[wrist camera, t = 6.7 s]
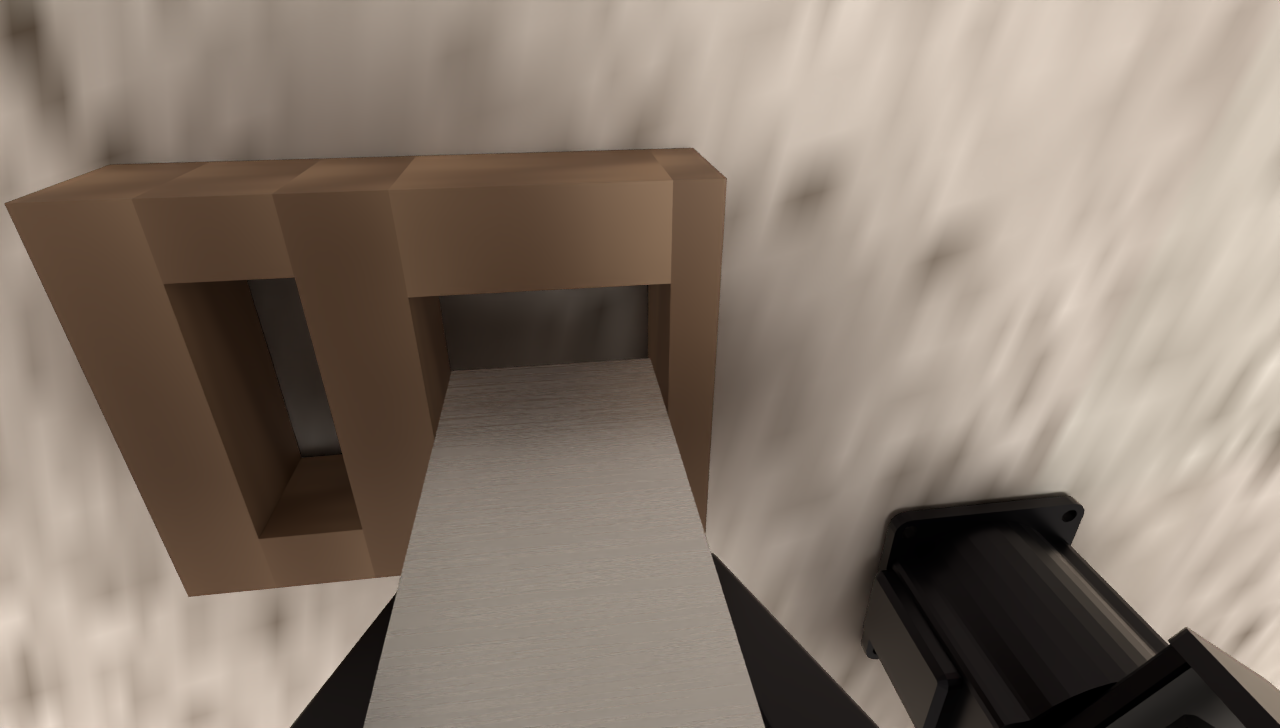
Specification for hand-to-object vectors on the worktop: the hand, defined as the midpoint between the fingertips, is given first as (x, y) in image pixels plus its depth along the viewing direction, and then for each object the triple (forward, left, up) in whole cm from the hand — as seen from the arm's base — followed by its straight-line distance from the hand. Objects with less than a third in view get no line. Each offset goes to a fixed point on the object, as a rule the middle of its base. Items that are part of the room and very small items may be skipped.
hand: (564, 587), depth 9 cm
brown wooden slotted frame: (+3, 0, -8) cm, 8 cm away
